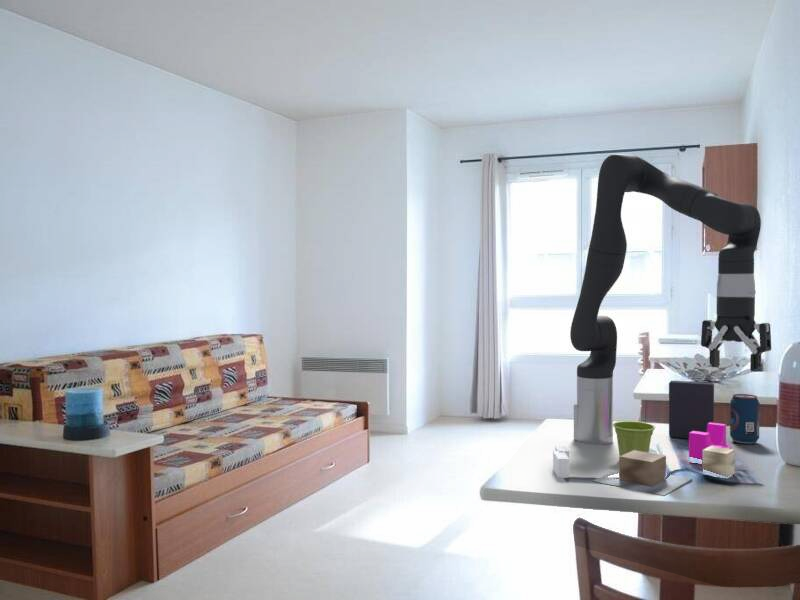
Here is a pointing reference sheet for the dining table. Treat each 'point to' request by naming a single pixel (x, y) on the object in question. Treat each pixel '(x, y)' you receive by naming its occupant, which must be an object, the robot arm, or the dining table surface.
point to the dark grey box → (690, 407)
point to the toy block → (707, 439)
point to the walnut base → (653, 490)
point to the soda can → (744, 418)
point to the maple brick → (718, 460)
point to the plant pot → (633, 436)
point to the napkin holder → (561, 461)
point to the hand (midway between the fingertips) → (734, 369)
